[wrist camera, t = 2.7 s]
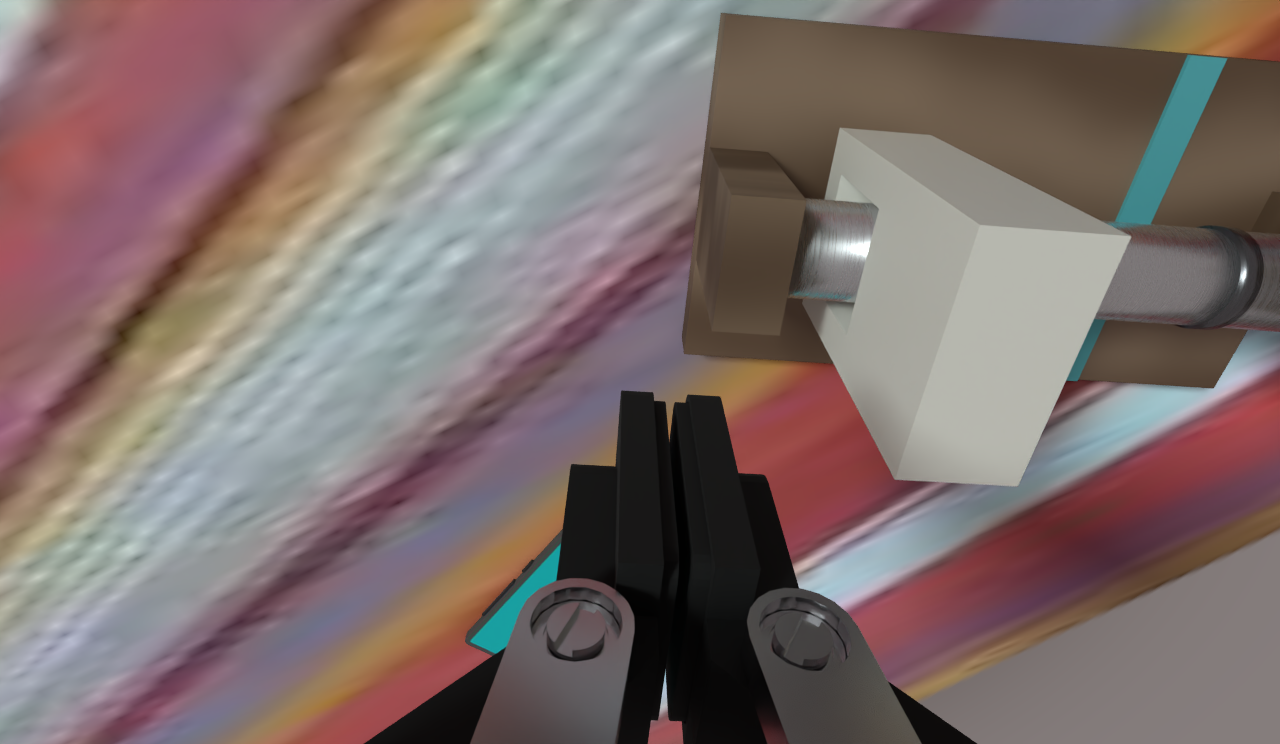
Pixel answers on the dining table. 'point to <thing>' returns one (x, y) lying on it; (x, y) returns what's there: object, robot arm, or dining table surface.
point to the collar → (960, 306)
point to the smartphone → (514, 601)
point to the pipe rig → (1012, 142)
